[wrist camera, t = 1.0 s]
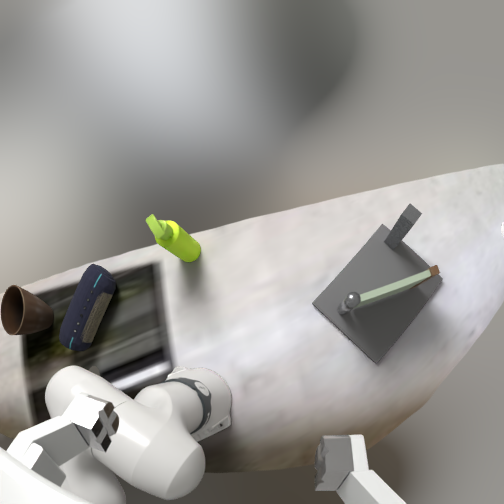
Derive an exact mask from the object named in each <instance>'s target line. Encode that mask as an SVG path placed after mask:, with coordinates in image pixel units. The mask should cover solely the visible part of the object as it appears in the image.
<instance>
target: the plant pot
mask: <svg viewBox="0 0 504 504" xmlns="http://www.w3.org/2000/svg"><path fill="white" fill-rule="evenodd" d="M53 319H54V315H53V311H52V309H51V307H49V306H48V305H47V304H46V303H45V302H43V301H42V300H41V299H39V298H38V297H36V296H35V295H33V294H31V293H30V292H28V291H26V290H24V289H22V288H20V287H18V286H16V285H12V286H10V287H9V288H8V289H7V290H6V292H5V294H4V296H3V299H2V304H1V320H2V324H3V327H4V329H5V331H6V332H7V333H8V334H9V335H23V334H30V333H35V332H38V331H42V330H44V329H47V328H49V327H50V326H51V325H52V323H53Z"/></svg>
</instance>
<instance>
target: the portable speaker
mask: <svg viewBox="0 0 504 504" xmlns="http://www.w3.org/2000/svg"><path fill="white" fill-rule="evenodd" d="M115 289H116V282H115V280H114V279H113V277H112V275H111V274H110V273H109V272H108V271H107V270H106V269H104V268H103V267H101V266H98V265H95V264H92V265H90V266H89V267H88V268H87V270H86V271H85V272H84V273H83V276H82V278H81V280H80V282H79V284H78V287H77V289H76V291H75V294H74V296H73V298H72V301H71V303H70V305H69V308H68V310H67V313H66V315H65V318H64V320H63V323H62V325H61V328H60V335H59V338H60V342H61V344H62V345H64V346H65V347H67V348H69V349H71V350H75V351H85V350H86V349H88V348H89V347H90V346H91V343H92V341H93V339H94V336H95V334H96V331H97V329H98V327H99V324H100V322H101V320H102V318H103V315H104V313H105V311H106V309H107V306H108V304H109V302H110V300H111V298H112V296H113V293H114V291H115Z"/></svg>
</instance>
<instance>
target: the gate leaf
mask: <svg viewBox="0 0 504 504" xmlns="http://www.w3.org/2000/svg"><path fill="white" fill-rule="evenodd" d="M439 273H440V272H439V269H438V266H437V265H435V266H433V267H430V268H429V269H427V270H426V271H424V272H421V273H419V274H416V275H413V276H411V277H408V278H405V279H403V280H400V281H397V282H395V283H392V284H389V285H386V286H384V287H381V288H378V289H375V290H372V291H369V292H366V293H363V294H360V297H361V301H360V303H359V304H358V305H357V306H356V307H354V308H357V307H360V306H363V305H366V304H368V303H371V302H374V301H377V300H380V299H383V298H385V297H388V296H391V295H394V294H396V293H399V292H402V291H404V290H407V289H409V290H410V289H412V288H415V287H417V286H419V285H420V284H422V283H424V282H426V281H427V280H429V279H431V278H432V277H434V276H436V275H437V274H439ZM354 308H353V309H354Z"/></svg>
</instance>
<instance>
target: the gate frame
mask: <svg viewBox="0 0 504 504" xmlns="http://www.w3.org/2000/svg"><path fill="white" fill-rule="evenodd" d="M421 214H422V213H421V212H419V211H418V210H417V209H416V208H415V207H414V206H412V205H411V204H409V205H408V207H407V208H406V209H405V210H404V212H403V213H402V214H401V216H400V218H399V219H398V221H397V222H396V224H395V225H394V227H393V229H392V230H391V231H390V230H389V229H388V228H387V227H386V226H385V225H383V224H382V225H381V226H380V227H379V228H378V230H377V231H376V232H375V233H374V234H373V236H372V237H371V238H370V239H369V240H368V241H367V243H366V244H365V245H364V246H363V247H362V248H361V250H360V251H359V252H358V253H357V254H356V255H355V257H354V258H353V259H352V260H351V261H350V262H349V263H348V264H347V266H346V267H345V268H344V269H343V270H342V271H341V272H340V273H339V275H338V276H337V277H336V278H335V279H334V280H333V281H332V282H331V283H330V284H329V285H328V287H327V288H326V289H325V290H324V291H323V292H322V293H321V294H320V295H319V296H318V297H317V298H316V299H315V300H314V302H313V303H312V304H313V305H314V306H315V307H317V308H318V309H319V310H320V311H321V312H322V313H323V314H324V315H325V316H326V317H327V318H328V319H329V320H330V321H331V322H332V323H334V324H335V325H336V326H337V327H338V328H339V329H340V330H341V331H342V332H343V333H344V334H345V335H346V336H347V337H348V338H349V339H351V340H352V341H353V342H354V343H355V344H356V345H357V346H358V347H359V348H360V349H361V350H362V351H363V352H364V353H365V354H366V355H367V356H368V357H370V358H371V359H372V360H373V361H374V362H375V363H378V361H379V360H380V359H381V358H382V357H383V356H384V355H385V354H386V352H387V351H388V350H389V349H390V348H391V347H392V345H393V344H394V343H395V342H396V341H397V340H398V338H399V337H400V336H401V335H402V333H403V332H404V331H405V330H406V328H407V327H408V326H409V325H410V323H411V322H412V321H413V320H414V318H415V317H416V316H417V314H418V313H419V312H420V310H421V309H422V308H423V306H424V305H425V304H426V302H427V301H428V300H429V298H430V297H431V295H432V294H433V293H434V291H435V290H436V288H437V287H438V285H439V284H440V282H441V281H442V278H441V277H440V276H439V275H438V274H437V275H436V276H434V277H432V278H431V279H429V280H427V281H426V282H424V283H422V284H420V285H419V286H417V287H415V288H412V289H410V290H409V289H407V290H404V291H402V292H399V293H396V294H394V295H391V296H388V297H385V298H383V299H380V300H377V301H374V302H371V303H368V304H366V305H363V306H360V307H357V308H354V307H356V306H357V305H358V304H359V303H360V301H361V297H360V294H363V293H366V292H369V291H372V290H375V289H378V288H381V287H384V286H386V285H389V284H392V283H395V282H397V281H400V280H403V279H405V278H408V277H411V276H413V275H416V274H419V273H421V272H424V271H426V270H427V269H429V268H430V266H429V265H428V264H427V263H426V262H425V261H424V260H423V259H422V258H421V257H419V256H418V255H417V254H416V253H415V252H414V251H413V250H412V249H411V248H410V247H409V246H407V245H406V244H405V243H404V242H403V241H402V239H403V238H404V237H405V235H406V234H407V233H408V231H409V230H410V229H411V228H412V226H413V225H414V224H415V222H416V221H417V220H418V218H419V217H420V216H421ZM353 308H354V309H353Z"/></svg>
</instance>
